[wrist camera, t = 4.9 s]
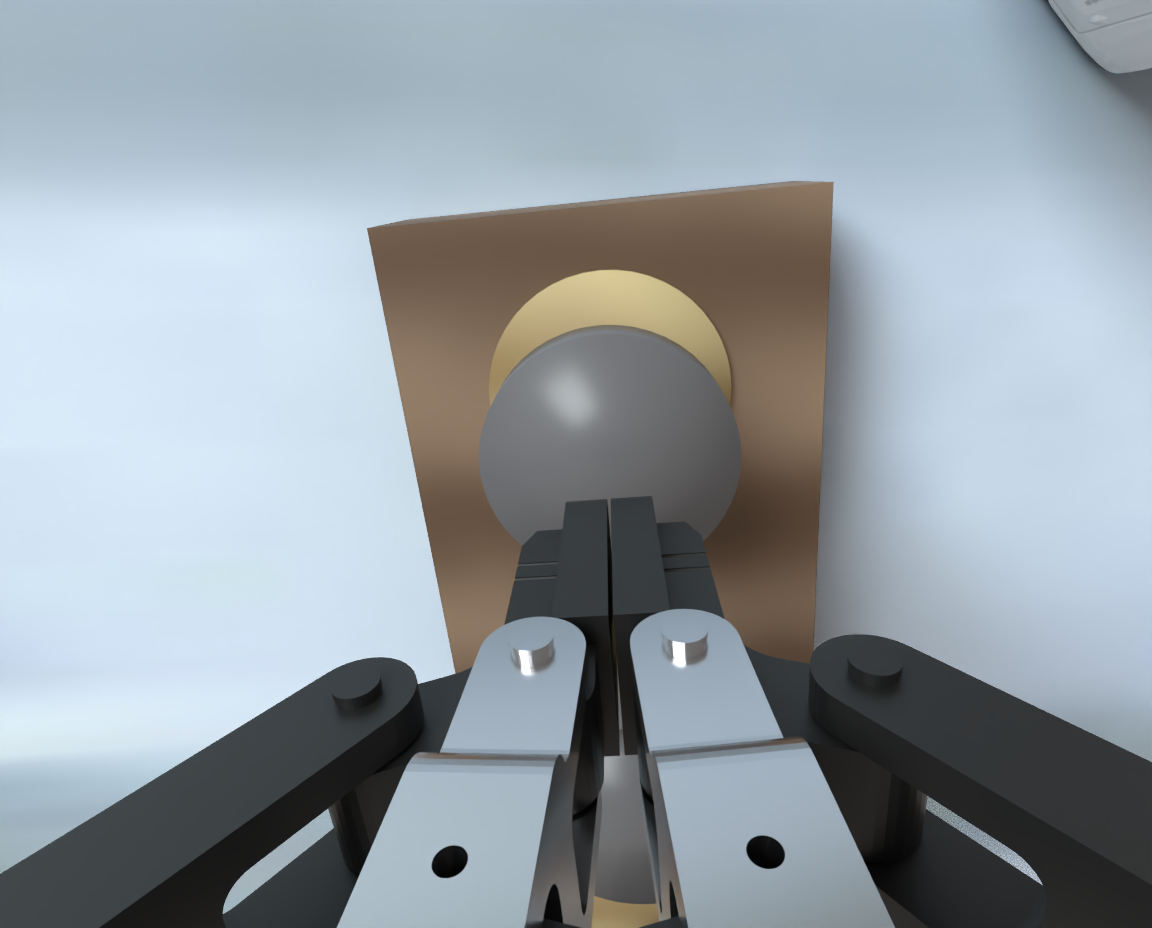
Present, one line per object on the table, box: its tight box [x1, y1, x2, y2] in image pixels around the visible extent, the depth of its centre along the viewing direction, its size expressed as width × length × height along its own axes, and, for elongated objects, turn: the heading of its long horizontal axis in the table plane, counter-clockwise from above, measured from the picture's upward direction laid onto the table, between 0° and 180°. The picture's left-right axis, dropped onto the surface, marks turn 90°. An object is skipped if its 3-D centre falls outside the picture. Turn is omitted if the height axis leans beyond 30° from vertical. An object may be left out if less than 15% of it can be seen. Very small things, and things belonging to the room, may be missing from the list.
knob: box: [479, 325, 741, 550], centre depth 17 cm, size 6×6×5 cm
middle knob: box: [594, 666, 656, 904], centre depth 21 cm, size 6×6×5 cm
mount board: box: [367, 181, 833, 928], centre depth 26 cm, size 32×12×4 cm, turn 5°
